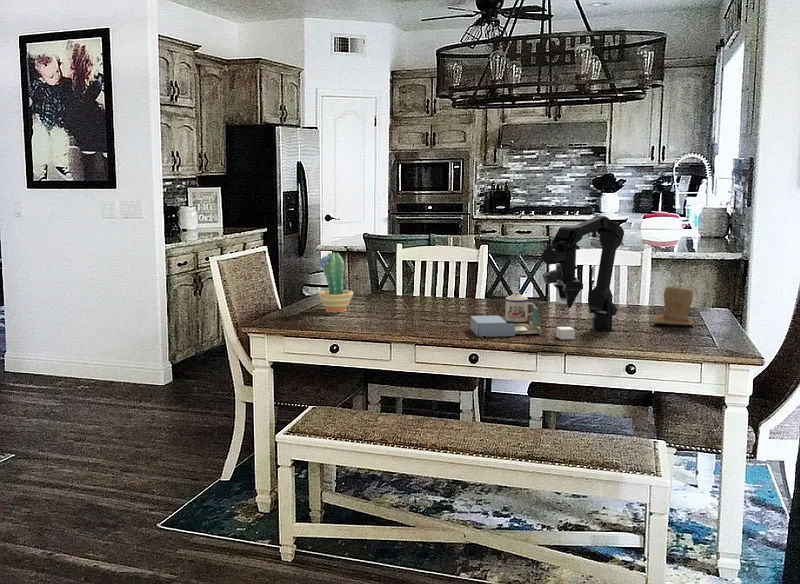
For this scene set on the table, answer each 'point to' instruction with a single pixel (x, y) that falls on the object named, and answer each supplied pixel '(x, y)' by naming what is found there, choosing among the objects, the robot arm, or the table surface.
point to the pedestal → (565, 333)
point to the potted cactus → (334, 284)
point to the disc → (563, 300)
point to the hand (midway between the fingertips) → (565, 306)
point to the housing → (491, 326)
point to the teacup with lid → (517, 308)
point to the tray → (529, 325)
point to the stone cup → (675, 307)
